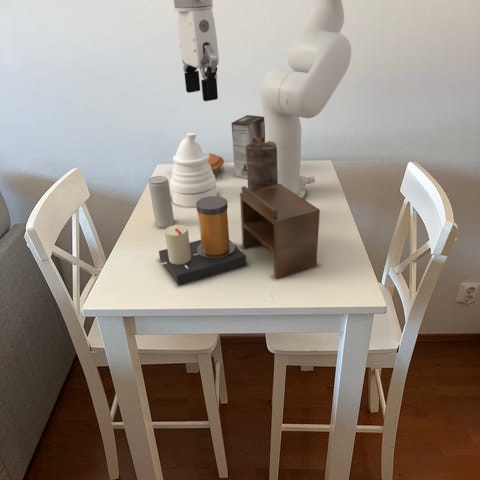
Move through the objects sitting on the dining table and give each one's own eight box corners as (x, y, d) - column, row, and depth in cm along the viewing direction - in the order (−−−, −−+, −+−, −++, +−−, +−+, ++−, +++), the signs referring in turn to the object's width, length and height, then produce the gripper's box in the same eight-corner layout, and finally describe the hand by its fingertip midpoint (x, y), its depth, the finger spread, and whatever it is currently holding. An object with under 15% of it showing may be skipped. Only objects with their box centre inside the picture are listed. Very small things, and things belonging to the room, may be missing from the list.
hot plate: (223, 242, 111) (223, 232, 110) (246, 265, 103) (246, 255, 101) (153, 262, 106) (152, 252, 104) (171, 288, 97) (169, 277, 96)
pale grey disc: (225, 236, 109) (225, 235, 108) (241, 252, 102) (241, 251, 102) (191, 246, 106) (190, 244, 106) (205, 262, 100) (205, 261, 99)
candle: (244, 228, 117) (241, 147, 105) (254, 215, 122) (251, 137, 110) (274, 231, 115) (273, 149, 102) (282, 218, 120) (283, 139, 108)
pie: (173, 184, 142) (171, 168, 139) (178, 166, 154) (176, 151, 151) (224, 181, 142) (223, 165, 139) (225, 163, 154) (224, 148, 151)
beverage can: (171, 229, 119) (164, 183, 111) (153, 228, 119) (145, 182, 112) (176, 220, 122) (170, 175, 115) (159, 219, 123) (152, 175, 116)
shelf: (279, 236, 113) (279, 175, 103) (316, 266, 101) (320, 200, 92) (242, 246, 110) (239, 185, 100) (276, 278, 98) (276, 212, 89)
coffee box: (249, 166, 151) (247, 114, 141) (266, 169, 148) (265, 116, 138) (233, 176, 145) (230, 122, 135) (251, 179, 142) (249, 124, 132)
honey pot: (225, 198, 132) (220, 132, 121) (184, 210, 127) (176, 143, 116) (203, 184, 141) (197, 122, 130) (164, 195, 135) (155, 131, 124)
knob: (165, 257, 102) (160, 227, 98) (186, 251, 104) (181, 221, 99) (174, 267, 99) (169, 236, 94) (194, 260, 101) (191, 230, 96)
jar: (223, 238, 107) (219, 193, 101) (235, 250, 103) (232, 204, 96) (196, 245, 105) (191, 200, 99) (207, 258, 100) (203, 211, 94)
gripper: (229, 0, 86) (234, 101, 96) (194, -3, 98) (202, 86, 109) (191, 4, 83) (200, 106, 94) (160, 0, 96) (172, 91, 106)
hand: (201, 95), depth 101 cm, fingers open, 9 cm apart
